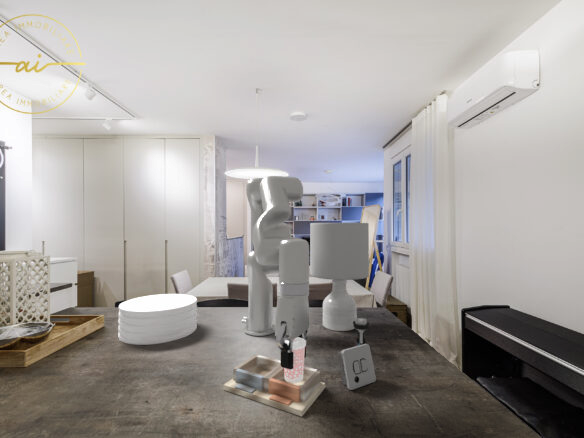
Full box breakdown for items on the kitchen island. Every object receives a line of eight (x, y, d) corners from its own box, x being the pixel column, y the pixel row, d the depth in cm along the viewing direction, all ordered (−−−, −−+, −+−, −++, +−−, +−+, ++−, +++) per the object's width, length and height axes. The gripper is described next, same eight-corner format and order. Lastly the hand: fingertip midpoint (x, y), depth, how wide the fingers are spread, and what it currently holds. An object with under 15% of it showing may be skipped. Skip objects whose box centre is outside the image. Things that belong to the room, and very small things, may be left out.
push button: (370, 356, 93) (369, 324, 93) (352, 354, 94) (352, 323, 95) (369, 347, 100) (369, 317, 100) (353, 346, 101) (353, 316, 101)
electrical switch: (349, 392, 73) (347, 352, 74) (336, 384, 77) (334, 347, 78) (376, 382, 78) (374, 345, 79) (362, 375, 82) (360, 340, 83)
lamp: (360, 316, 135) (359, 223, 136) (377, 335, 111) (376, 222, 112) (307, 316, 134) (307, 223, 135) (313, 336, 110) (313, 222, 111)
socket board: (223, 389, 74) (223, 372, 74) (253, 367, 85) (254, 353, 85) (302, 416, 63) (302, 396, 63) (325, 387, 75) (325, 370, 75)
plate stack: (206, 334, 112) (206, 304, 113) (121, 351, 97) (122, 316, 97) (186, 316, 135) (186, 291, 136) (115, 327, 120) (116, 299, 120)
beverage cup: (290, 369, 77) (290, 315, 77) (310, 376, 74) (310, 320, 74) (276, 379, 72) (276, 321, 72) (297, 387, 69) (297, 326, 69)
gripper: (296, 281, 83) (296, 346, 82) (261, 294, 68) (261, 373, 67) (321, 284, 79) (321, 352, 79) (290, 297, 64) (290, 382, 64)
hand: (293, 361), depth 73 cm, fingers closed on beverage cup, 6 cm apart
